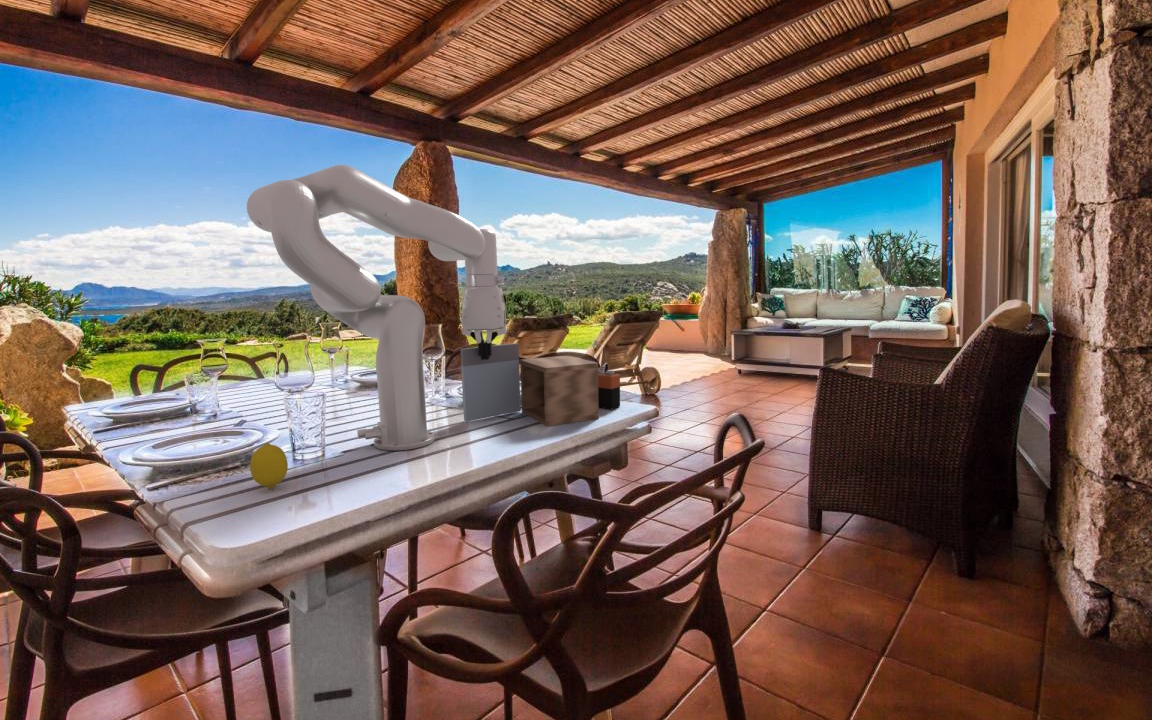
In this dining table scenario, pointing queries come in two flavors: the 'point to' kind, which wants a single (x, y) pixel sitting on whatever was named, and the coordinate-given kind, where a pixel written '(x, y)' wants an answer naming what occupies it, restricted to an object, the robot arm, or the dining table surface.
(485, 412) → the door
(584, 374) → the cubby
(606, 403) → the battery
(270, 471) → the lemon
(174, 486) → the dining table surface
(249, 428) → the dining table surface
